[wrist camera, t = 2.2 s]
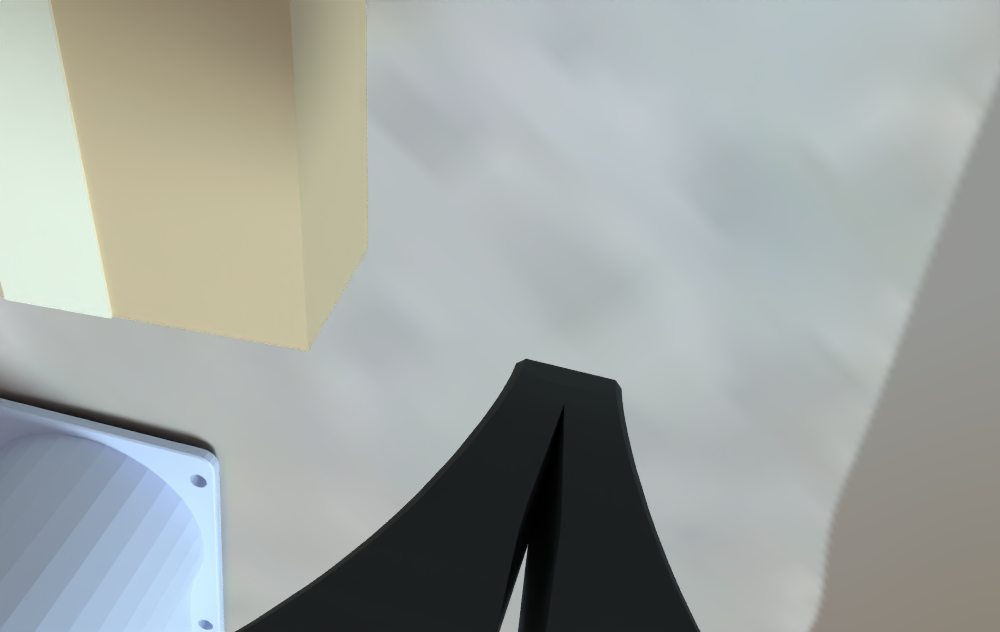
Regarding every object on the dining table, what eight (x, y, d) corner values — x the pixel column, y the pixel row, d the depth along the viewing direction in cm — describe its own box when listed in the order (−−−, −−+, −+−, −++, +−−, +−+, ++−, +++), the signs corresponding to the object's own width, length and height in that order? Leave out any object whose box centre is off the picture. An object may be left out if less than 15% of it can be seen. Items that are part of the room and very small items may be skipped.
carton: (371, 242, 23) (306, 353, 20) (-42, 175, 24) (-178, 267, 21) (370, -164, 18) (281, -118, 14) (-155, -226, 19) (-363, -198, 15)
